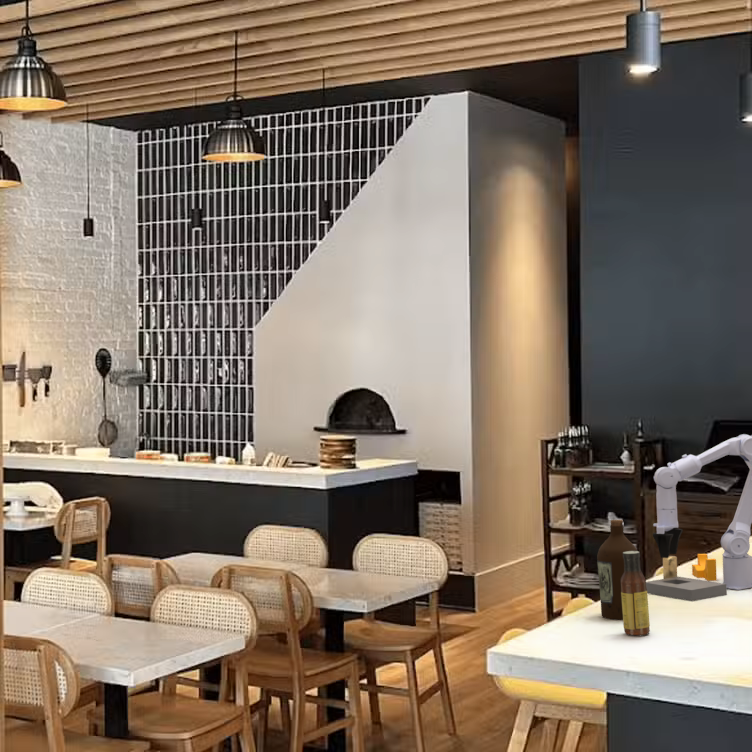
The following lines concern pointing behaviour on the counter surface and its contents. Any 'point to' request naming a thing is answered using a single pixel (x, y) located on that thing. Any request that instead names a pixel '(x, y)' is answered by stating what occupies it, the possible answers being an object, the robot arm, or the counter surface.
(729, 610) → the counter surface
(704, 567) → the pipe clamp
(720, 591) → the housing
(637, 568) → the sauce bottle
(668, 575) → the pin
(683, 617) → the counter surface
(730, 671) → the counter surface
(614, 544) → the olive oil
